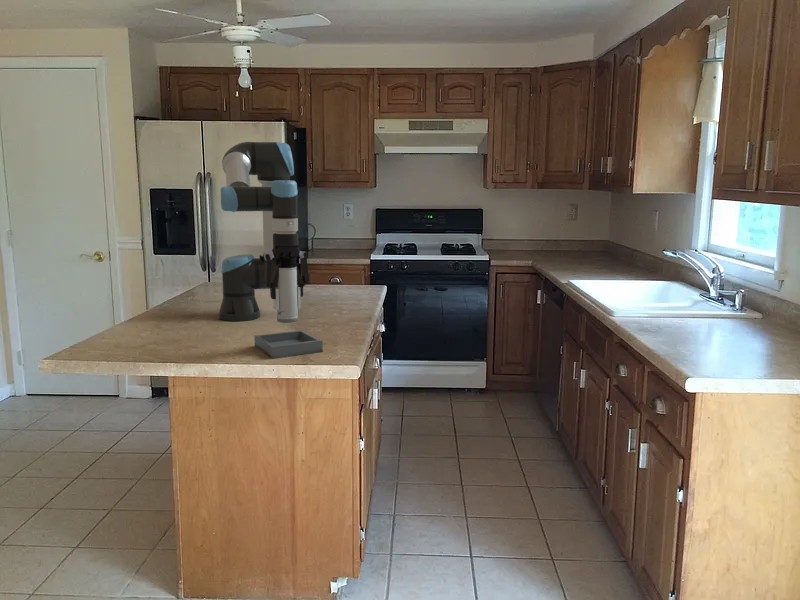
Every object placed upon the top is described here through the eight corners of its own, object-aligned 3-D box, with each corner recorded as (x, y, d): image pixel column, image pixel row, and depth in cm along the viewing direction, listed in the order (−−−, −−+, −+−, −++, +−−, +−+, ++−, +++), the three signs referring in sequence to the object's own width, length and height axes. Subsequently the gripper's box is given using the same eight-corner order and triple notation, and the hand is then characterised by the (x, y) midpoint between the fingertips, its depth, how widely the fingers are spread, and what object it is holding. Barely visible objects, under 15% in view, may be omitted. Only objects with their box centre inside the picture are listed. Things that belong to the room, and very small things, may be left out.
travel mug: (278, 323, 196) (276, 257, 193) (276, 319, 203) (274, 255, 199) (299, 322, 198) (297, 256, 195) (296, 318, 204) (295, 254, 201)
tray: (254, 346, 205) (254, 335, 204) (302, 340, 213) (302, 330, 212) (272, 358, 192) (272, 347, 191) (322, 351, 200) (322, 340, 199)
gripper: (258, 234, 188) (260, 313, 192) (320, 232, 197) (321, 307, 201) (250, 232, 194) (252, 309, 198) (310, 230, 204) (311, 303, 208)
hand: (287, 308), depth 200 cm, fingers closed on travel mug, 6 cm apart
